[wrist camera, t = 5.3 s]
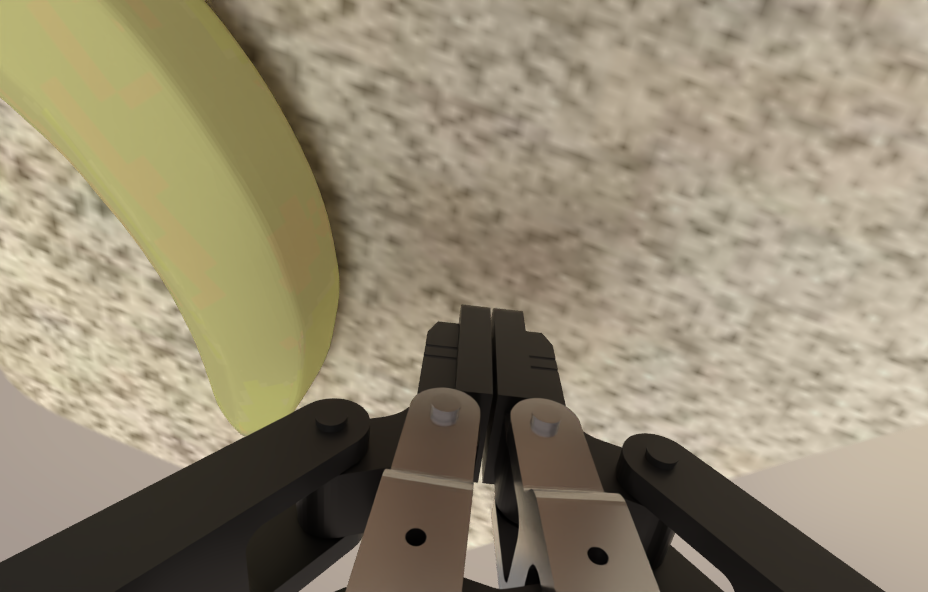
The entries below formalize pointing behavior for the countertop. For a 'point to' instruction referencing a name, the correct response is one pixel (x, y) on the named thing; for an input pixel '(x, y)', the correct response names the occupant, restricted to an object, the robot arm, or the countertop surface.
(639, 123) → the countertop surface
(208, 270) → the banana
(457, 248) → the countertop surface
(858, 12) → the countertop surface
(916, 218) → the countertop surface
